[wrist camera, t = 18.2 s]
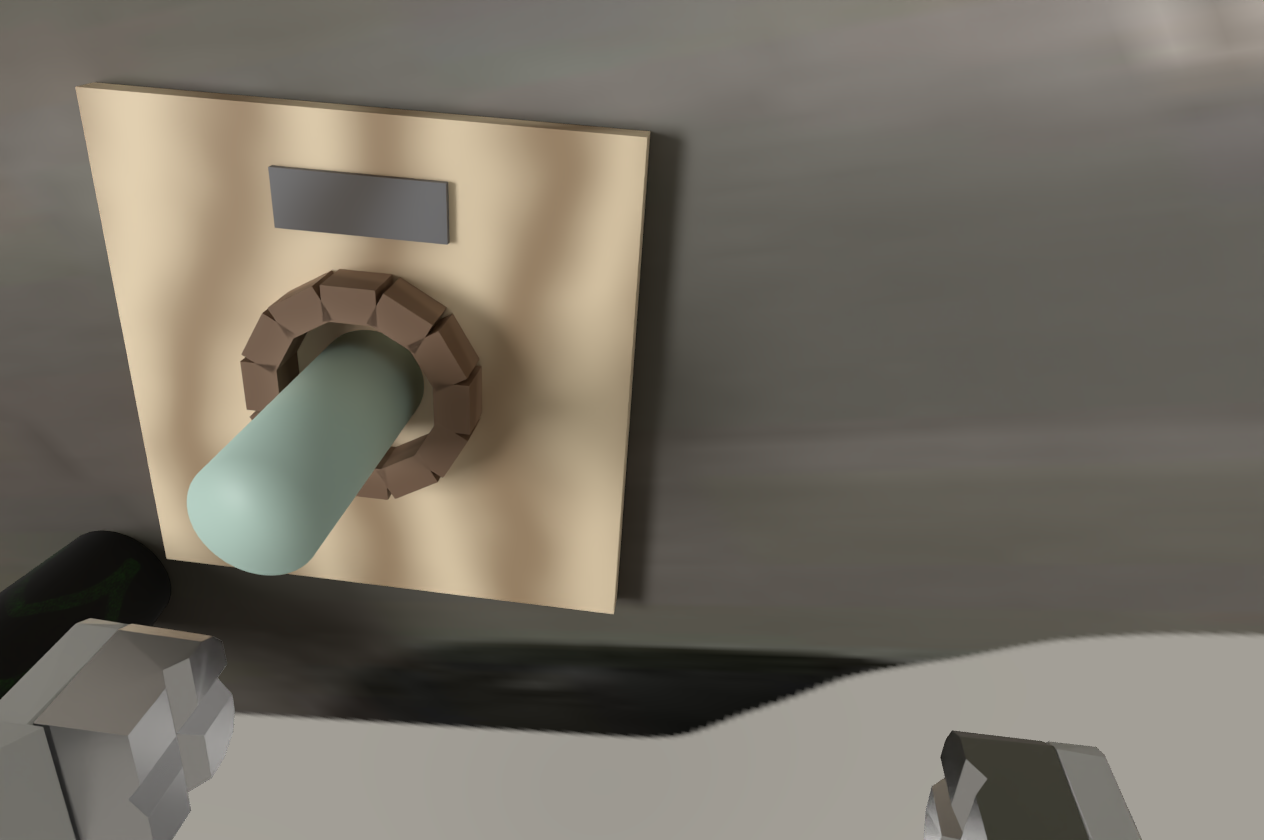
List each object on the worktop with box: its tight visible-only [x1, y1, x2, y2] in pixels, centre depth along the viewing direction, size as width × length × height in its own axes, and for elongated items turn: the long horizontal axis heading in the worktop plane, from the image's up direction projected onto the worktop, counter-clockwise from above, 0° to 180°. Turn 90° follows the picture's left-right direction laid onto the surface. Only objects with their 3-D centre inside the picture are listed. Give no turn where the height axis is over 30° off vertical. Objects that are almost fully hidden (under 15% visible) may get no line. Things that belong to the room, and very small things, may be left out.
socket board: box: [75, 82, 650, 614], centre depth 41 cm, size 22×22×3 cm
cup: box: [0, 531, 171, 700], centre depth 44 cm, size 8×8×12 cm
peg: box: [187, 330, 424, 575], centre depth 36 cm, size 4×4×11 cm
